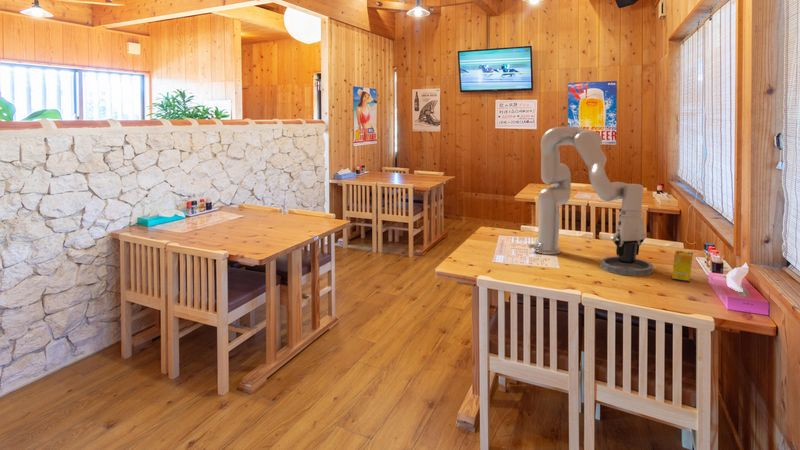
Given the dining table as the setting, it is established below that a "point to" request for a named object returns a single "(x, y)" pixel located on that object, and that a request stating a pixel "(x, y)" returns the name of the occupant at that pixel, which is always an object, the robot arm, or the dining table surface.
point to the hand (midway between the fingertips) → (627, 254)
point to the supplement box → (682, 266)
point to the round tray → (626, 267)
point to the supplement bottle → (628, 252)
